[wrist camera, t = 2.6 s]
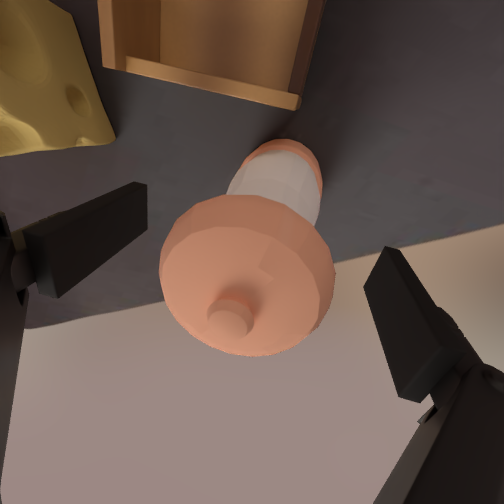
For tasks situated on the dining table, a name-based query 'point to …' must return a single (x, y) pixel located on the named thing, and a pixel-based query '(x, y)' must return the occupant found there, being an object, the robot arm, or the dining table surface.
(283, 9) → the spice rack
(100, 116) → the cheese
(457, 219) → the dining table surface
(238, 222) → the salt shaker
